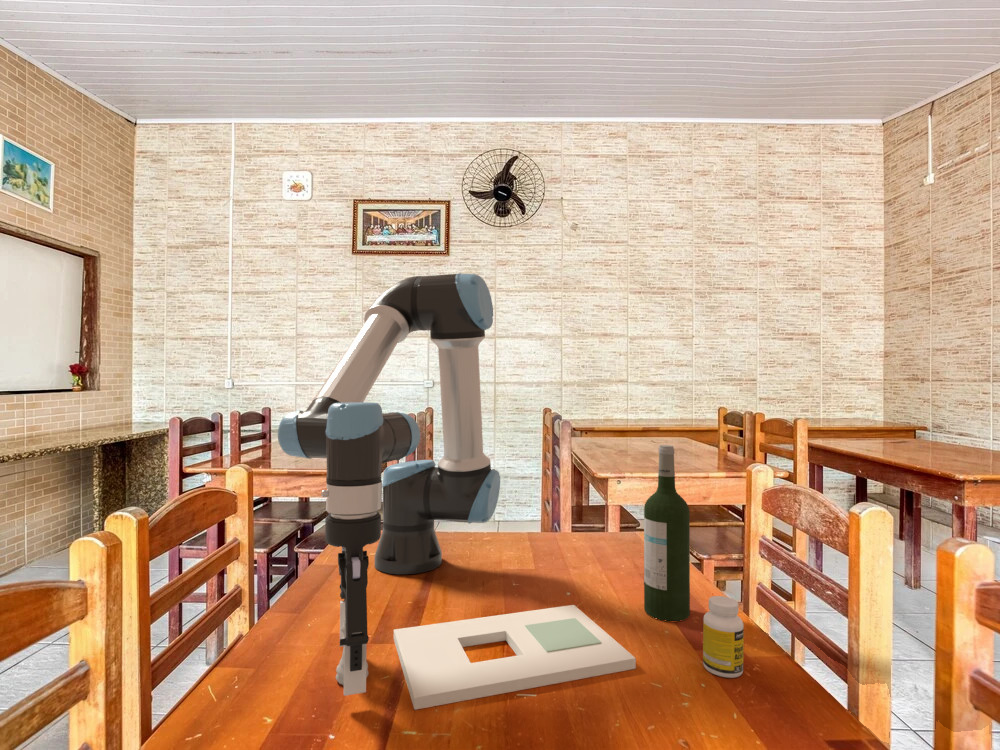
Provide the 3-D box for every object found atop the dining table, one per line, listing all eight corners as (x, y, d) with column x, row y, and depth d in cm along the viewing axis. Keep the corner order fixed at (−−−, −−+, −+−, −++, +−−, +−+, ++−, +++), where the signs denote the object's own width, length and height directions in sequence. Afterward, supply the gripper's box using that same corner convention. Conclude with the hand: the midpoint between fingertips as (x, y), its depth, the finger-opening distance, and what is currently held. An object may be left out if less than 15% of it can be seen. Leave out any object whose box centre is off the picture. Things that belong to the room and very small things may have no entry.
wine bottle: (697, 612, 98) (696, 445, 98) (678, 626, 92) (677, 449, 93) (656, 600, 103) (656, 442, 104) (635, 613, 97) (635, 445, 98)
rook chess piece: (374, 673, 77) (375, 616, 77) (356, 690, 73) (357, 629, 73) (347, 667, 78) (348, 611, 78) (328, 683, 74) (329, 624, 74)
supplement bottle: (740, 683, 75) (740, 611, 75) (699, 672, 77) (699, 603, 78) (746, 666, 79) (746, 598, 79) (707, 656, 82) (707, 591, 82)
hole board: (393, 639, 87) (393, 628, 87) (573, 613, 97) (573, 603, 97) (414, 709, 68) (414, 696, 68) (635, 668, 78) (635, 656, 78)
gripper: (324, 497, 86) (322, 631, 86) (326, 538, 63) (324, 724, 62) (372, 494, 89) (371, 625, 88) (392, 533, 65) (390, 712, 65)
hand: (351, 666), depth 75 cm, fingers open, 13 cm apart
